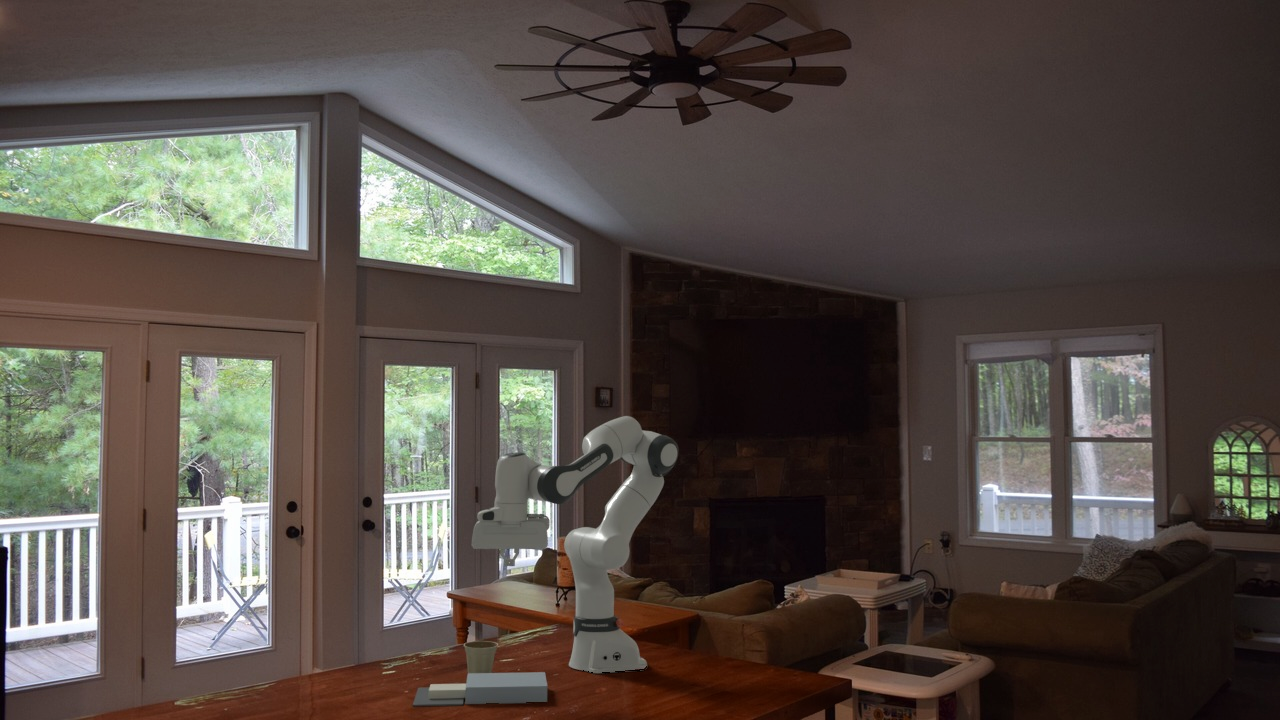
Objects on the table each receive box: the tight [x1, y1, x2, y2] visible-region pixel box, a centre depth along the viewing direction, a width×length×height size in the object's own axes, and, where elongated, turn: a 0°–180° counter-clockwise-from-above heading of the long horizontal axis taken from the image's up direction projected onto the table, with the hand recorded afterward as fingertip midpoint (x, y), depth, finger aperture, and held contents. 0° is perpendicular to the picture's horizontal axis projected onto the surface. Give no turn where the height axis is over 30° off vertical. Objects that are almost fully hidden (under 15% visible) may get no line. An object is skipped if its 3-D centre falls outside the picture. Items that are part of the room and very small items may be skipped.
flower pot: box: [463, 640, 499, 674], centre depth 264 cm, size 9×9×9 cm
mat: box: [412, 686, 465, 707], centre depth 243 cm, size 12×16×1 cm
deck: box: [464, 671, 548, 705], centre depth 245 cm, size 20×14×4 cm
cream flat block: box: [429, 683, 466, 699], centre depth 243 cm, size 9×6×2 cm, turn 98°
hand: (509, 566), depth 257 cm, fingers closed
